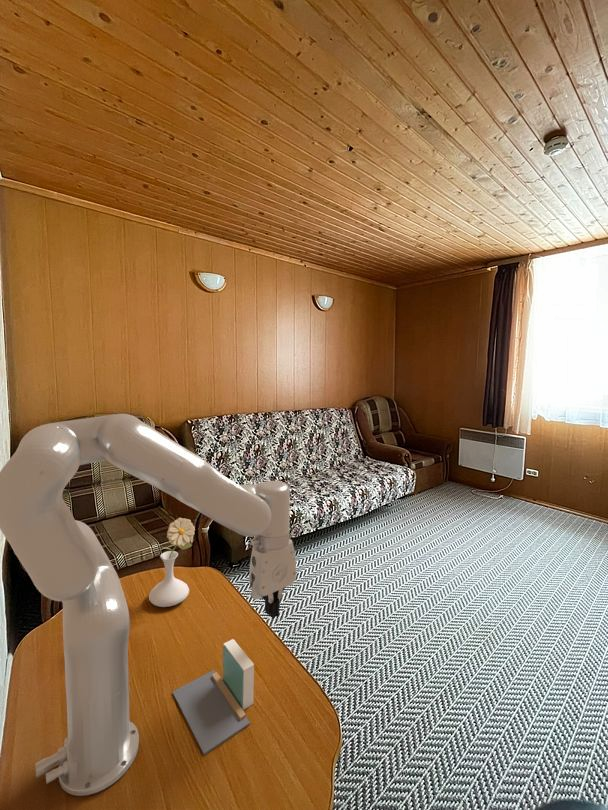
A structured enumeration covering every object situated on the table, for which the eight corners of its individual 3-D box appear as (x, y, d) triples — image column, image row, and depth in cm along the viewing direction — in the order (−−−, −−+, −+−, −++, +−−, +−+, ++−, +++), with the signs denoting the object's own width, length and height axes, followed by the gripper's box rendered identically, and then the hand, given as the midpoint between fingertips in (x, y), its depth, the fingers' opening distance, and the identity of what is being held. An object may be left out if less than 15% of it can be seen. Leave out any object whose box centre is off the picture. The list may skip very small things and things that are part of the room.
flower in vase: (145, 613, 104) (144, 528, 101) (151, 589, 115) (151, 512, 112) (194, 607, 107) (194, 525, 105) (195, 584, 118) (195, 509, 115)
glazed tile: (242, 710, 76) (242, 670, 75) (222, 681, 83) (222, 644, 82) (253, 703, 78) (254, 664, 77) (232, 675, 84) (233, 638, 84)
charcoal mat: (204, 755, 67) (204, 750, 67) (172, 693, 79) (172, 689, 79) (249, 724, 73) (250, 719, 73) (214, 671, 85) (214, 667, 85)
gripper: (252, 555, 74) (252, 639, 77) (309, 534, 84) (308, 609, 86) (234, 541, 80) (234, 619, 82) (289, 522, 89) (288, 593, 92)
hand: (272, 614), depth 84 cm, fingers closed
